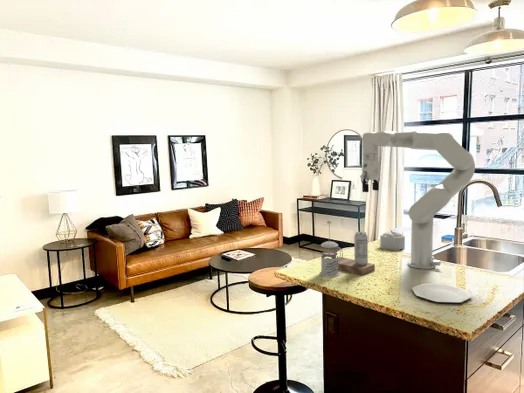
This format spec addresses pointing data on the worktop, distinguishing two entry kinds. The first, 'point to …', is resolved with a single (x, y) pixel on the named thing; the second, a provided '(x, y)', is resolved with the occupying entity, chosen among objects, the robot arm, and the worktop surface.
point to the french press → (326, 267)
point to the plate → (441, 293)
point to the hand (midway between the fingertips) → (370, 191)
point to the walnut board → (354, 266)
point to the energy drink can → (361, 248)
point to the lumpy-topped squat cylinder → (392, 241)
